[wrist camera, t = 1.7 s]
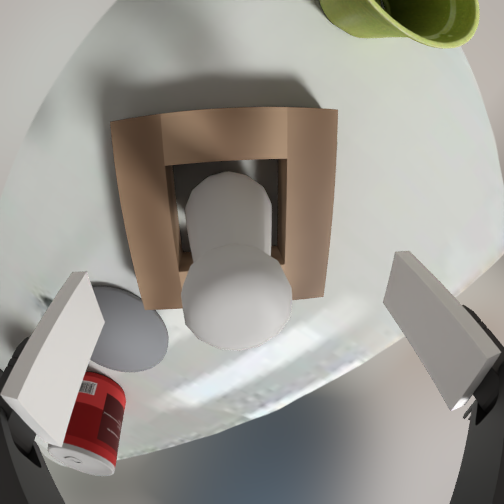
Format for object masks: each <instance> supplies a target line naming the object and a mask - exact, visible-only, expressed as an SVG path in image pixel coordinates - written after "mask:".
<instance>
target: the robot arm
mask: <svg viewBox="0 0 504 504" xmlns="http://www.w3.org/2000/svg"><path fill="white" fill-rule="evenodd" d="M383 303H384V305H385V306H386V308H387V309H388V311H389V312H390V314H391V315H392V317H393V318H394V320H395V321H396V323H397V324H398V326H399V327H400V329H401V330H402V332H403V333H404V335H405V336H406V338H407V339H408V341H409V343H410V344H411V346H412V347H413V349H414V350H415V352H416V354H417V355H418V357H419V358H420V360H421V362H422V363H423V364H424V367H425V368H426V370H427V371H428V373H429V375H430V376H431V378H432V380H433V381H434V383H435V385H436V387H437V388H438V390H439V392H440V393H441V395H442V397H443V399H444V401H445V402H446V404H447V406H448V408H449V409H450V411H452V410H454V409H456V408H459V407H461V406H463V405H465V404H466V403H467V401H468V400H469V399H470V397H471V396H472V395H474V397H475V398H476V400H475V401H474V403H473V404H472V405H471V406H470V408H469V409H468V410H467V411H466V413H465V414H464V416H463V418H464V419H465V418H466V417H467V416H468V414H469V413H470V412H471V416H470V418H469V419H468V420H470V424H469V430H468V436H467V441H466V446H465V450H464V455H463V459H462V463H461V467H460V471H459V475H458V478H457V482H456V485H455V489H454V492H453V495H452V498H451V501H450V504H504V347H503V346H502V344H501V343H500V342H499V341H498V339H497V338H496V337H495V336H494V335H493V334H492V332H491V331H490V330H489V329H488V328H487V327H486V325H485V324H484V323H483V322H481V319H480V318H479V317H478V316H477V315H476V314H475V313H474V311H472V310H470V309H469V308H468V307H466V306H464V305H461V304H460V303H459V302H458V300H457V299H456V298H455V297H454V296H453V295H452V294H451V293H450V292H449V291H448V290H447V289H446V288H445V287H444V285H443V284H442V283H441V282H440V281H439V280H438V279H437V278H436V277H435V276H434V275H433V274H432V273H431V272H430V271H429V270H428V269H427V268H426V267H425V266H424V265H423V264H422V263H421V262H420V261H419V260H418V259H417V258H416V257H415V256H414V255H413V254H412V253H411V252H410V251H400V252H395V255H394V260H393V264H392V269H391V273H390V277H389V281H388V285H387V289H386V293H385V297H384V300H383ZM104 323H105V321H104V319H103V316H102V313H101V311H100V308H99V305H98V302H97V300H96V297H95V294H94V291H93V288H92V285H91V282H90V279H89V276H88V273H87V271H85V272H72V273H71V275H70V276H69V278H68V279H67V280H66V282H65V283H64V285H63V286H62V288H61V289H60V291H59V292H58V294H57V295H56V297H55V298H54V300H53V301H52V303H51V304H50V306H49V307H48V309H47V310H46V312H45V314H44V315H43V317H42V318H41V320H40V322H39V323H38V325H37V326H36V328H35V330H34V331H33V333H32V335H31V337H30V338H28V337H27V338H26V339H25V340H24V341H23V342H22V343H21V344H20V345H19V346H18V347H17V348H16V350H15V352H14V354H13V356H12V358H11V359H10V361H9V363H8V367H6V368H5V370H4V372H2V371H1V370H0V504H65V502H64V500H63V498H62V497H61V495H60V493H59V491H58V489H57V487H56V485H55V483H54V481H53V479H52V477H51V474H50V472H49V470H48V468H47V466H46V463H45V461H44V459H43V456H42V454H41V452H40V449H39V446H38V445H37V443H36V442H35V441H34V439H35V436H36V435H37V436H38V437H40V438H41V439H42V440H43V441H44V442H45V443H48V444H52V445H55V446H59V447H62V445H63V441H64V438H65V434H66V431H67V427H68V424H69V420H70V417H71V414H72V411H73V407H74V404H75V401H76V398H77V395H78V392H79V389H80V386H81V383H82V380H83V377H84V375H85V372H86V369H87V366H88V364H89V361H90V358H91V356H92V353H93V350H94V348H95V345H96V343H97V340H98V338H99V335H100V333H101V330H102V328H103V325H104Z"/></svg>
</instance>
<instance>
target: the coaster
mask: <svg viewBox="0 0 504 504" xmlns="http://www.w3.org/2000/svg"><path fill="white" fill-rule="evenodd" d="M92 288H93V291H94V294H95V297H96V300H97V302H98V305H99V308H100V311H101V313H102V316H103V319H104V321H105V323H104V325H103V328H102V330H101V333H100V335H99V338H98V340H97V343H96V345H95V348H94V350H93V353H92V356H91V358H90V360H92V361H93V362H95V363H97V364H99V365H101V366H103V367H106V368H109V369H112V370H116V371H122V372H139V371H144V370H147V369H150V368H152V367H154V366H156V365H157V364H158V363H160V361H161V360H162V359H163V358H164V356H165V354H166V352H167V347H168V332H167V329H166V326H165V324H164V322H163V320H162V319H161V317H160V316H159V314H158V313H157V312H156V311H155V310H145V309H144V305H143V301H142V299H141V298H139V297H137V296H136V295H134V294H132V293H130V292H127V291H125V290H122V289H118V288H114V287H108V286H93V287H92Z"/></svg>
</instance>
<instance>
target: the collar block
mask: <svg viewBox="0 0 504 504" xmlns="http://www.w3.org/2000/svg"><path fill="white" fill-rule="evenodd" d="M337 125H338V110H335V109H322V108H302V107H237V108H217V109H202V110H191V111H180V112H171V113H163V114H155V115H148V116H141V117H135V118H129V119H123V120H117V121H112V122H110V126H111V137H112V146H113V155H114V163H115V170H116V177H117V184H118V190H119V197H120V203H121V208H122V214H123V219H124V224H125V230H126V234H127V239H128V244H129V249H130V253H131V258H132V262H133V266H134V270H135V275H136V279H137V283H138V286H139V290H140V294H141V298H142V301H143V305H144V309H145V310H159V309H180V308H183V306H182V299H181V292H182V287H183V284H184V281H185V279H186V276H187V274H188V271H189V269H190V266H191V265H192V264H193V258H192V253H191V252H183V250H182V243H181V235H180V228H179V220H178V212H177V203H176V194H175V184H174V174H173V165H178V164H189V163H201V162H215V161H231V160H253V159H278V228H277V246H271V257H273V258H274V259H276V260H278V262H279V264H280V266H281V268H282V269H283V271H284V274H285V276H286V278H287V280H288V282H289V284H290V286H291V288H292V300H298V299H308V298H317V297H323V295H324V288H325V280H326V272H327V264H328V255H329V246H330V236H331V226H332V214H333V202H334V188H335V172H336V153H337Z"/></svg>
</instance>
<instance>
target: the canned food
mask: <svg viewBox="0 0 504 504" xmlns="http://www.w3.org/2000/svg"><path fill="white" fill-rule="evenodd" d="M125 404H126V399H125V394H124V391H123V389H122V388H121V387H120V386H119V385H118V384H117V383H116V382H114V381H113V380H111V379H110V378H108V377H106V376H103V375H101V374H98V373H94V372H85V375H84V377H83V380H82V383H81V386H80V389H79V392H78V395H77V398H76V401H75V404H74V407H73V411H72V414H71V417H70V420H69V424H68V427H67V431H66V434H65V438H64V441H63V445H62V447H59V446H55V445H52V444H48V452H49V453H50V454H51V456H53V457H54V458H55V459H56V460H58V461H59V462H61V463H63V464H64V465H66V466H68V467H71V468H73V469H75V470H78V471H81V472H84V473H88V474H92V475H98V476H110V475H112V474H113V473H114V470H115V465H116V460H117V452H118V445H119V439H120V433H121V426H122V421H123V415H124V409H125Z"/></svg>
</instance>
